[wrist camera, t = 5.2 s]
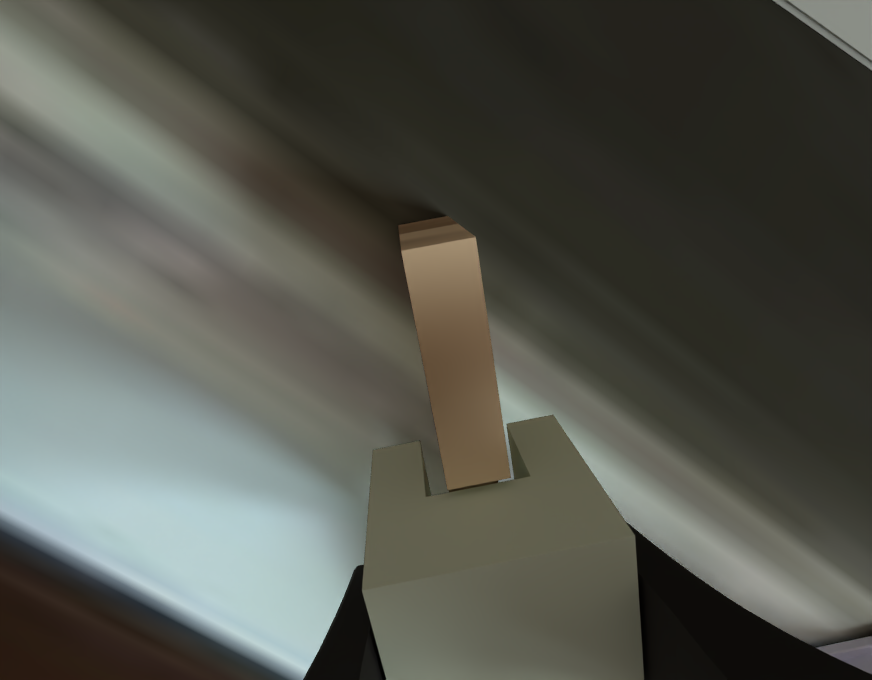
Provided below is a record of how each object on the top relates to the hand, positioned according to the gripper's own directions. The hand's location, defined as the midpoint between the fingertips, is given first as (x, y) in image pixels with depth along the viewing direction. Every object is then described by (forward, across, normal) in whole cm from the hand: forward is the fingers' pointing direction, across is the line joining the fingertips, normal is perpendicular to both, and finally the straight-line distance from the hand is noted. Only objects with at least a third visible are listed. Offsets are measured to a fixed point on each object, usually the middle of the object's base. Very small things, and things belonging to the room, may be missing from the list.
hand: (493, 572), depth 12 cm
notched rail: (+5, 0, 0) cm, 5 cm away
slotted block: (+2, 0, 0) cm, 3 cm away
